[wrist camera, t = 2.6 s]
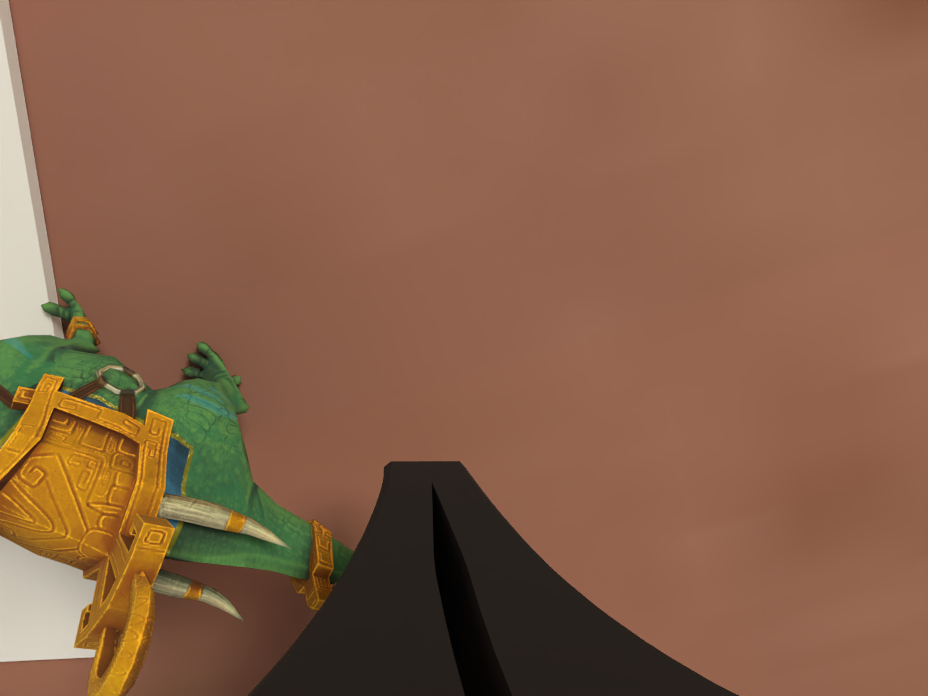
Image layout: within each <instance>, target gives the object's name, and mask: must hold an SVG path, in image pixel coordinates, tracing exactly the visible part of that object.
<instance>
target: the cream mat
mask: <svg viewBox="0 0 928 696" xmlns="http://www.w3.org/2000/svg"><path fill="white" fill-rule="evenodd" d="M47 302H53V303H56V304H58V298H57V292H56V286H55V279H54V273H53V267H52V261H51V255H50V249H49V243H48V237H47V231H46V225H45V219H44V213H43V207H42V201H41V194H40V188H39V182H38V176H37V170H36V164H35V158H34V152H33V146H32V140H31V134H30V128H29V122H28V116H27V109H26V103H25V97H24V91H23V85H22V79H21V73H20V67H19V61H18V55H17V49H16V43H15V37H14V31H13V24H12V18H11V12H10V6H9V0H0V340H3V339H8V338H14V337H20V336H26V335H52V336H55V337H59V338H62V339H64V334H63V328H62V322H61V317H56V316H52V315H50V314H49V313H47V312H45V311H43V309H42V307H41V305H42V304H45V303H47ZM58 305H59V304H58ZM96 582H97V581H93V580H89V579H84V578H83V570H80V569H77V568H75V567H72V566H69V565H67V564H63V563H60V562H57V561H54V560H51V559H48V558H45V557H42V556H39V555H36V554H34V553H32V552H30V551H28V550H27V549H25V548H23V547H21V546H19V545H17V544H15V543H13V542H11V541H9V540H8V539H6V538H4V537H2V536H0V662H5V661H26V660H47V659H67V658H88V657H95V653H96V650H91V649H81V648H74V644H75V639H76V635H77V630H78V626H79V621H80V617H81V612H82V610H83V609H84V608H85V607H86V606H87V605H88V604H92V602H93V597H94V592H95V587H96Z"/></svg>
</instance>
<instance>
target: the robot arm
mask: <svg viewBox="0 0 928 696" xmlns="http://www.w3.org/2000/svg"><path fill="white" fill-rule="evenodd" d="M248 696H738V695H736V694H734V693H732V692H730V691H729V690H727V689H725V688H723V687H721V686H719V685H717V684H715V683H713V682H711V681H710V680H708V679H706V678H704V677H703V676H701V675H699V674H698V673H696V672H694V671H692V670H691V669H689V668H687V667H686V666H684V665H682V664H681V663H679V662H677V661H675V660H674V659H672V658H670V657H669V656H667V655H666V654H664V653H663V652H661V651H659V650H658V649H656V648H655V647H653V646H652V645H650V644H648V643H647V642H645V641H644V640H642V639H641V638H640V637H638V636H637V635H635V634H634V633H632V632H631V631H630V630H628V629H627V628H625V627H624V626H623V625H621V624H620V623H618V622H617V621H615V620H614V619H613V618H611V617H610V616H608V615H607V614H606V613H605V612H603V611H602V610H601V609H599V608H598V607H597V606H595V605H594V604H593V603H592V602H590V601H589V600H588V599H587V598H585V597H584V596H583V595H582V594H581V593H580V592H578V591H577V590H576V589H575V588H574V587H572V586H571V585H570V584H569V583H568V582H566V581H565V580H564V579H563V578H562V577H561V576H560V575H558V574H557V573H556V572H555V571H554V570H553V569H552V568H551V567H550V566H549V565H548V564H547V563H546V562H545V561H544V560H543V559H542V558H541V557H540V556H539V555H538V554H537V553H536V552H535V551H534V550H533V549H532V548H531V547H530V546H529V545H528V544H527V543H526V542H525V541H524V539H523V538H522V537H521V536H520V535H519V534H518V533H517V532H516V530H515V529H514V528H513V527H512V526H511V525H510V524H509V522H508V521H507V520H506V519H505V518H504V517H503V516H502V514H501V513H500V512H499V511H498V510H497V508H496V507H495V506H494V505H493V503H492V502H491V501H490V500H489V498H488V497H487V496H486V495H485V493H484V492H483V491H482V489H481V488H480V487H479V485H478V484H477V483H476V481H475V480H474V479H473V477H472V476H471V475H470V473H469V472H468V471H467V469H466V468H465V467H464V466H463V465H462V463H461V462H460V461H419V462H390V463H389V464H387V465H386V466H385V467H384V478H383V483H382V487H381V491H380V494H379V497H378V500H377V503H376V506H375V508H374V511H373V513H372V516H371V518H370V520H369V523H368V525H367V527H366V530H365V532H364V534H363V536H362V538H361V540H360V542H359V544H358V546H357V548H356V550H355V551H354V553H353V555H352V557H351V559H350V561H349V563H348V565H347V567H346V568H345V570H344V572H343V573H342V575H341V577H340V578H339V580H338V582H337V583H336V585H335V587H334V588H333V590H332V591H331V593H330V594H329V596H328V597H327V599H326V600H325V602H324V603H323V605H322V606H321V608H320V609H319V611H318V612H317V613H316V615H315V616H314V617H313V619H312V620H311V621H310V623H309V624H308V625H307V627H306V628H305V629H304V631H303V632H302V633H301V635H300V636H299V637H298V639H297V640H296V641H295V643H294V644H293V645H292V646H291V647H290V649H289V650H288V651H287V652H286V654H285V655H284V656H283V657H282V658H281V660H280V661H279V662H278V663H277V664H276V665H275V666H274V667H273V669H272V670H271V671H270V672H269V673H268V674H267V675H266V676H265V677H264V678H263V679H262V681H261V682H260V683H259V684H258V685H257V686H256V687H255V688H254V689H253V690H252V692H251V693H250V694H249V695H248Z"/></svg>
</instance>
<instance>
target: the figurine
mask: <svg viewBox="0 0 928 696" xmlns="http://www.w3.org/2000/svg"><path fill="white" fill-rule="evenodd" d="M58 290H59V295H60V297H61V299H63V300H64V301H65V302H66V303H67V304H68V305H69V306H70V307H63V306H60V305H58V304H56V303H53V302H47V303H45V304H42V305H41V307H42V309H43V311H45V312H47V313H49V314H50V315H52V316H56V317H61V318H62V319H64V320H66V321H67V322H69V323H70V324H69V327H68V329H67V331H66V337H68V338H67V339H62V338H59V337H55V336H52V335H26V336H20V337H14V338H8V339H3V340H0V536H2V537H4V538H6V539H8V540H9V541H11V542H13V543H15V544H17V545H19V546H21V547H23V548H25V549H27V550H28V551H30V552H32V553H34V554H36V555H39V556H42V557H45V558H48V559H51V560H54V561H57V562H60V563H63V564H67V565H69V566H72V567H75V568H77V569H80V570H83V578H84V579H89V580H93V581H97V582H96V587H95V592H94V597H93V602H92V604H88V605H87V606H86V607H85V608H84V609H83V610H82V612H81V617H80V621H79V626H78V630H77V635H76V639H75V644H74V648H81V649H91V650H96V653H95V657H94V660H93V664H92V667H91V671H90V674H89V680H88V688H87V694H88V696H125V695H126V694H127V693H128V691H129V690H130V689H131V688H132V686H133V685H134V683H135V681H136V679H137V676H138V674H139V672H140V670H141V668H142V666H143V664H144V660H145V657H146V654H147V651H148V648H149V645H150V642H151V637H152V631H153V626H154V621H155V610H156V595H155V593H154V592H157V593H160V594H164V595H167V596H173V597H179V598H185V599H191V600H196V601H202V602H205V603H207V604H210V605H212V606H215V607H218V608H220V609H222V610H224V611H225V612H227V613H229V614H231V615H233V616H235V617H236V618H238V619H240V620H242V621H244V620H243V619H242V618H241V616H240V615H239V613H238V612H237V611H236V609H235V608H234V607H233V605H232V604H231V602H230V601H229V600H228V599H227V598H225V597H224V596H223V595H222V594H220V593H219V592H218V591H216V590H215V589H213V588H211V587H208V586H206V585H203V584H201V583H198V582H196V581H193V580H191V579H188V578H186V577H183V576H180V575H177V574H174V573H171V572H168V571H165V570H162V569H160V567H161V565H162V562H163V559H164V558H166V559H172V560H179V561H186V562H200V563H211V564H220V565H230V566H239V567H248V568H255V569H262V570H269V571H274V572H278V573H281V574H285V575H288V576H289V578H290V580H291V582H292V584H293V586H294V588H295V590H296V592H297V593H298V594H305V595H306V601H307V606H308V607H310V608H311V609H314V610H319V609H320V608H321V606H322V605H323V603H324V602H325V600H326V599H327V597H328V596H329V594H330V593H331V591H332V590H333V588H334V587H335V585H336V583H337V582H338V580H339V578H340V577H341V575H342V573H343V572H344V570H345V568H346V567H347V565H348V563H349V561H350V559H351V557H352V555H353V553H354V551H352V550H351V549H349V548H348V547H346V546H345V545H343V544H342V543H340V542H339V541H337V540H336V539H334V538H333V537H331V531H329V530H328V529H327V528H325V527H324V526H323V525H321V524H320V523H318V522H317V521H316V520H311V521H307V522H306V521H304V520H302V519H301V518H299V517H297V516H296V515H294V514H292V513H291V512H289V511H287V510H285V509H284V508H282V507H280V506H279V505H277V504H276V503H275V502H274V501H273V500H272V499H271V498H270V497H269V496H268V495H267V494H266V493H265V492H264V491H263V490H262V489H261V488H260V487H259V486H257V485H256V484H255V483H254V482H253V480H252V475H251V470H250V466H249V461H248V457H247V452H246V449H245V445H244V442H243V438H242V435H241V431H240V428H239V424H238V420H237V417H236V414H241V413H246V412H247V410H248V408H249V406H248V405H247V403H246V402H245V400H244V398H243V397H242V395H241V393H240V391H239V388H238V387H237V385H238V384H240V383H241V381H240V380H241V377H239V376H235V375H233V376H232V377H230V375H229V373H228V372H227V370H226V368H225V365H224V362H223V360H222V359H221V358H220V357H219V355H218V354H217V353H216V352H214V351H213V350H212V349H211V348H210V347H209V346H208V345H207V344H206V343H204V342H199V343H197V348H198V351H199V352H201V353H203V354H204V355H206V356H207V359H206V358H203V357H202V356H201V355H199V354H197V353H191V354H187V355H188V358H189V360H190V361H191V362H192V363H193V364H196V365H198V366H199V367H201V368H202V369H198V368H195V367H187V368H184V369H181V370H182V371H183V373H184V374H185V375H186V376H187V377H194V378H196V379H190V380H184V381H181V382H178V383H176V384H174V385H172V386H170V387H168V388H164V389H159V390H152V389H151V388H150V387H149V386H147V385H146V384H145V383H144V382H143V381H142V378H141V376H140V375H138V374H137V373H135V372H134V371H132V370H130V369H129V368H127V367H126V366H125V365H123V364H122V363H121V362H120V361H119V360H118V359H117V358H115V357H112V356H105V355H99V354H94V353H97V352H100V351H99V350H98V349H97V348H96V347H95V346H97V345H98V344H100V341H99V339H98V338H97V336H96V335H98V332H97V331H96V329H95V328H94V326H93V324H92V323H91V321H90V320H89V319H88V318H86V316H85V314H84V312H83V311H82V309H81V307H80V305H79V304H78V303H77V302H76V300H75V298H74V295H73V294H72V293H71V292H69V291H67V290H66V289H58ZM331 584H335V585H334V586H333V588H331ZM120 637H121V639H120V642H119V644H118V639H119V638H120ZM117 645H118V647H117Z"/></svg>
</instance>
